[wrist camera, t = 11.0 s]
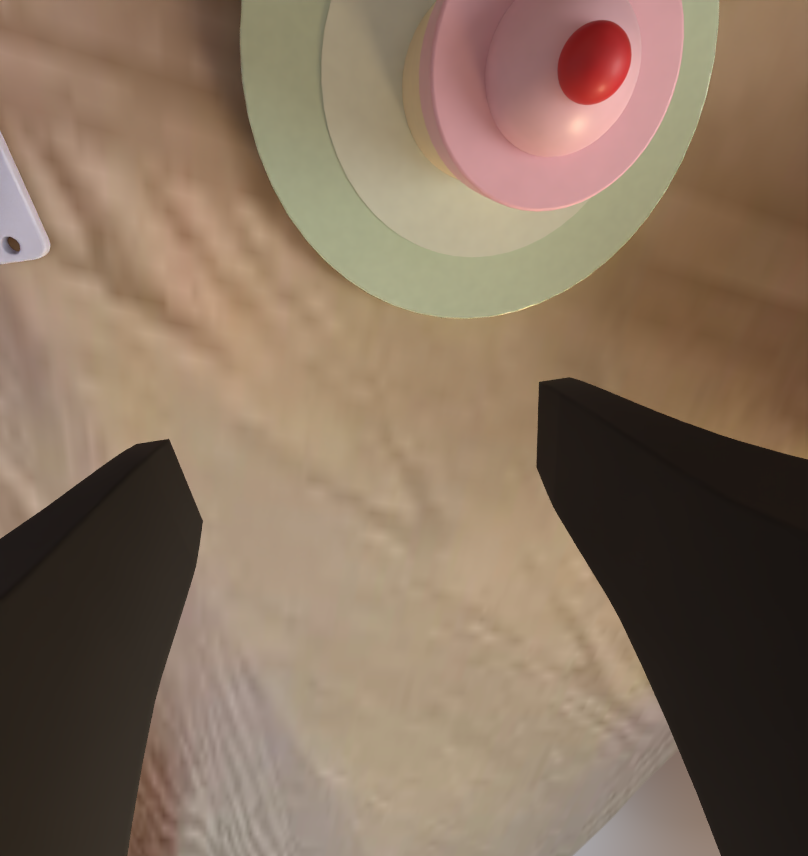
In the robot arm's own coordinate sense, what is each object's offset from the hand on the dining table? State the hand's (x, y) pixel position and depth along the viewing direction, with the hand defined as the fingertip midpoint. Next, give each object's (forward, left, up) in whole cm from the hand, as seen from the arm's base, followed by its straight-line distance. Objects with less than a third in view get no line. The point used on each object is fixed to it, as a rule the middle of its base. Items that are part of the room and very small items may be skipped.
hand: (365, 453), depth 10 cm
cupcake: (+5, +6, -9) cm, 12 cm away
